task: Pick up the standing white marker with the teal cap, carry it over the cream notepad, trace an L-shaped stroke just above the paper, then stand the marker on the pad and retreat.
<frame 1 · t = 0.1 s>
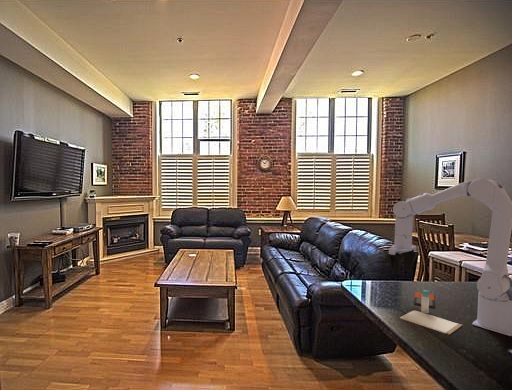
hand: (401, 272, 117), 10 cm above the countertop, tool pointing down, fingers open, 7 cm apart
phone: (424, 302, 118), on the countertop
notepad: (430, 322, 98), on the countertop
marker: (424, 312, 106), on the countertop
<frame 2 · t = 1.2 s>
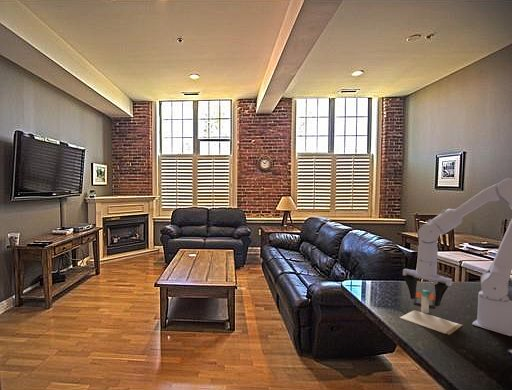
hand: (424, 301, 106), 3 cm above the countertop, tool pointing down, fingers open, 7 cm apart
nothing on the countertop moved.
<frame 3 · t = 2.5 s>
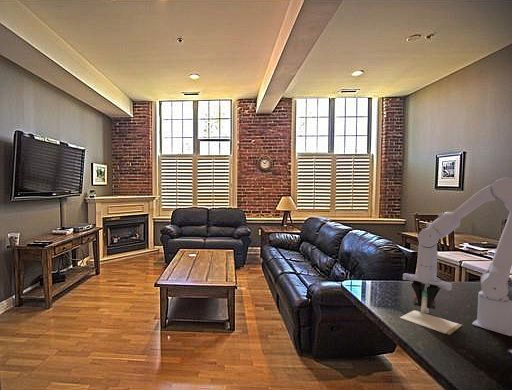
hand: (425, 306, 106), 2 cm above the countertop, tool pointing down, fingers closed on marker, 2 cm apart
marker: (424, 312, 106), on the countertop, touching gripper
everything else where it was.
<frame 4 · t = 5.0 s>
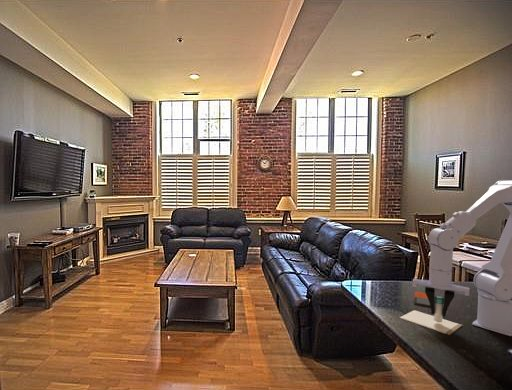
hand: (438, 314, 96), 3 cm above the countertop, tool pointing down, fingers closed on marker, 2 cm apart
marker: (438, 320, 96), point 1 cm above the countertop, touching gripper
everything else where it was.
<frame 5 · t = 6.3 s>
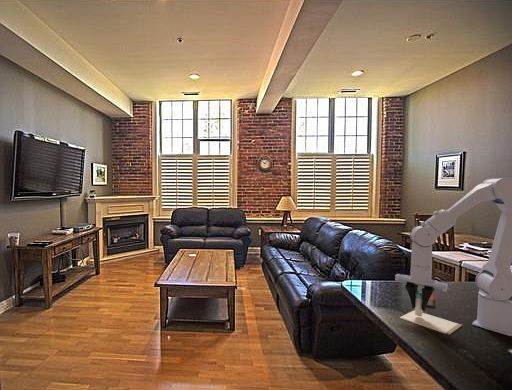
hand: (418, 308, 101), 3 cm above the countertop, tool pointing down, fingers closed on marker, 2 cm apart
marker: (418, 314, 101), point 1 cm above the countertop, touching gripper
everything else where it was.
when the fingers open (3 cm above the countertop, at t = 7.4 s): marker stays where it is, resting on notepad.
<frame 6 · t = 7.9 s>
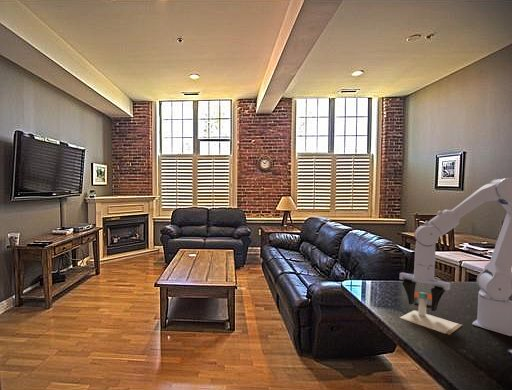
hand: (422, 306, 102), 3 cm above the countertop, tool pointing down, fingers open, 6 cm apart
marker: (421, 315, 102), resting on notepad
everything else where it was.
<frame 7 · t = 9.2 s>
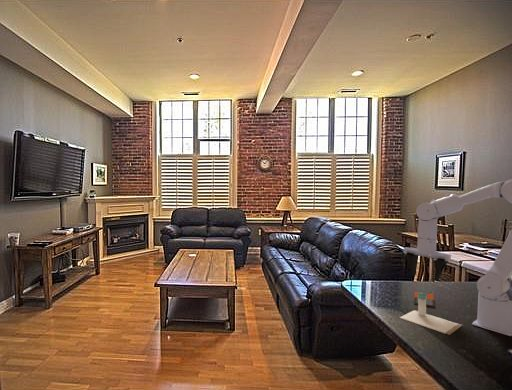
hand: (425, 277, 111), 10 cm above the countertop, tool pointing down, fingers open, 7 cm apart
nothing on the countertop moved.
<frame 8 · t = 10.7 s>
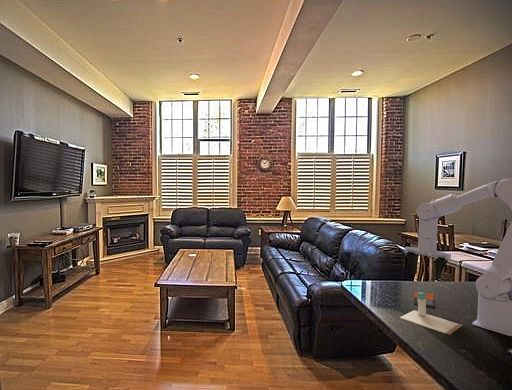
hand: (425, 276, 113), 10 cm above the countertop, tool pointing down, fingers open, 7 cm apart
nothing on the countertop moved.
at the end: marker inside the target area on the notepad (4.3 cm from its centre), point 0.4 cm above the notepad's base; marker tilted 3°; the gripper is holding nothing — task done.
